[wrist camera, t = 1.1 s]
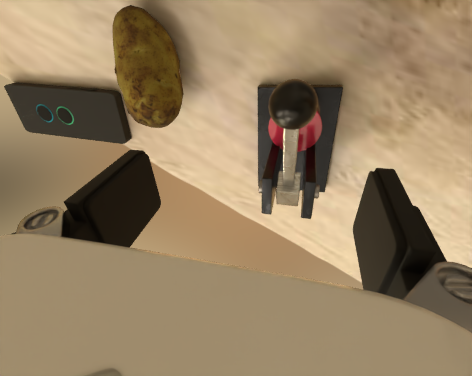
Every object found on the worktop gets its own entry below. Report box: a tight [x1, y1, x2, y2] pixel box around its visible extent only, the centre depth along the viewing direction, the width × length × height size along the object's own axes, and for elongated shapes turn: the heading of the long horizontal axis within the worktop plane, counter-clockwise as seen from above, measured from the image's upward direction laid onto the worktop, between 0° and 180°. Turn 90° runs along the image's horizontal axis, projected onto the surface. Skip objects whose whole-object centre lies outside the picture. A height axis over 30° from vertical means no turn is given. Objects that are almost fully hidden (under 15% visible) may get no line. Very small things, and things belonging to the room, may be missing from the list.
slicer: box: [258, 85, 343, 219], centre depth 30 cm, size 15×10×14 cm, turn 3°
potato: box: [113, 5, 184, 128], centre depth 31 cm, size 8×13×8 cm, turn 177°
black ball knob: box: [269, 79, 318, 206], centre depth 21 cm, size 14×3×3 cm, turn 3°
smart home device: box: [4, 82, 131, 144], centre depth 41 cm, size 8×2×20 cm
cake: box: [268, 103, 322, 152], centre depth 30 cm, size 6×6×5 cm
